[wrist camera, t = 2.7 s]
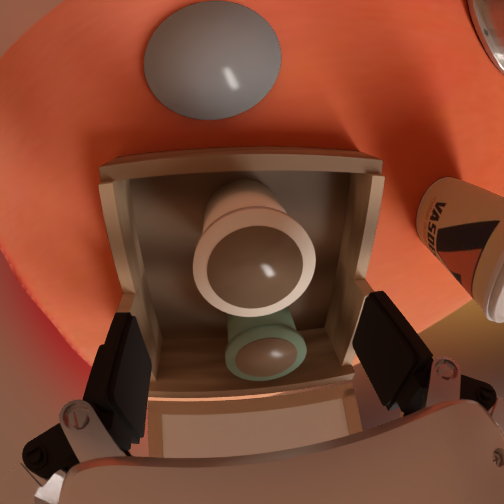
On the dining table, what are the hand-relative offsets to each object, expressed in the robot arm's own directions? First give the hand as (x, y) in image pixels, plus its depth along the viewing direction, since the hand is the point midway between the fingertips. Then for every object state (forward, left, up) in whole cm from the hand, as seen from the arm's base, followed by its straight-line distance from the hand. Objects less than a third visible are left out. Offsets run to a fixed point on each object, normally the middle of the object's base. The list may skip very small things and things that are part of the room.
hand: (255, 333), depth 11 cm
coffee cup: (0, +21, -12) cm, 24 cm away
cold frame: (+4, 0, -12) cm, 12 cm away
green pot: (+8, +1, -11) cm, 13 cm away
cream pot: (0, 0, -11) cm, 11 cm away
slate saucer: (-12, -1, -12) cm, 17 cm away
